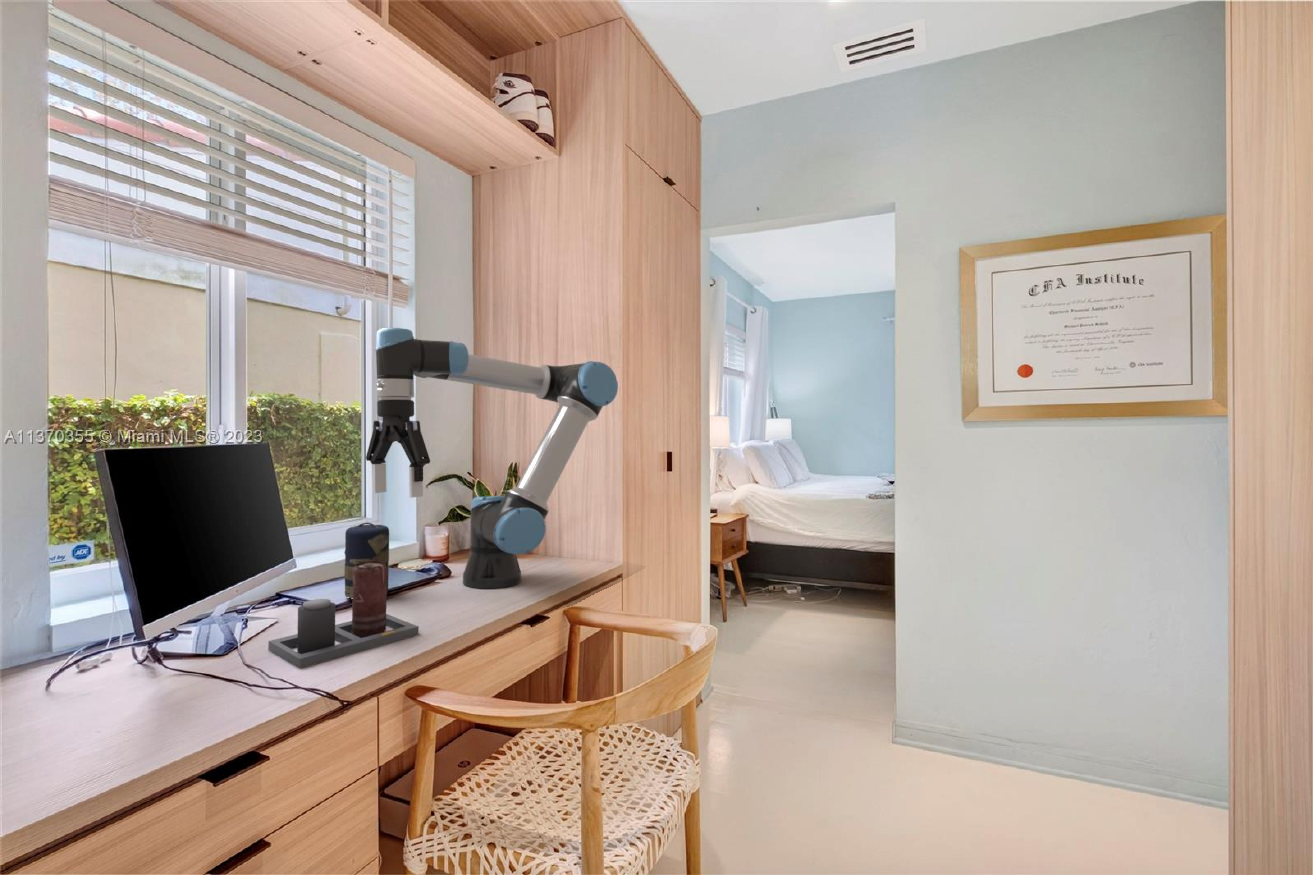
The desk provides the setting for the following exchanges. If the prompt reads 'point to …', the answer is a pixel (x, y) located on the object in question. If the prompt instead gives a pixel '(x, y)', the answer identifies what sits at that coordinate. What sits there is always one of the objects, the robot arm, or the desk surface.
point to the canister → (364, 549)
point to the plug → (316, 625)
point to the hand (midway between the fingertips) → (397, 494)
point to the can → (369, 598)
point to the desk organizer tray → (342, 642)
